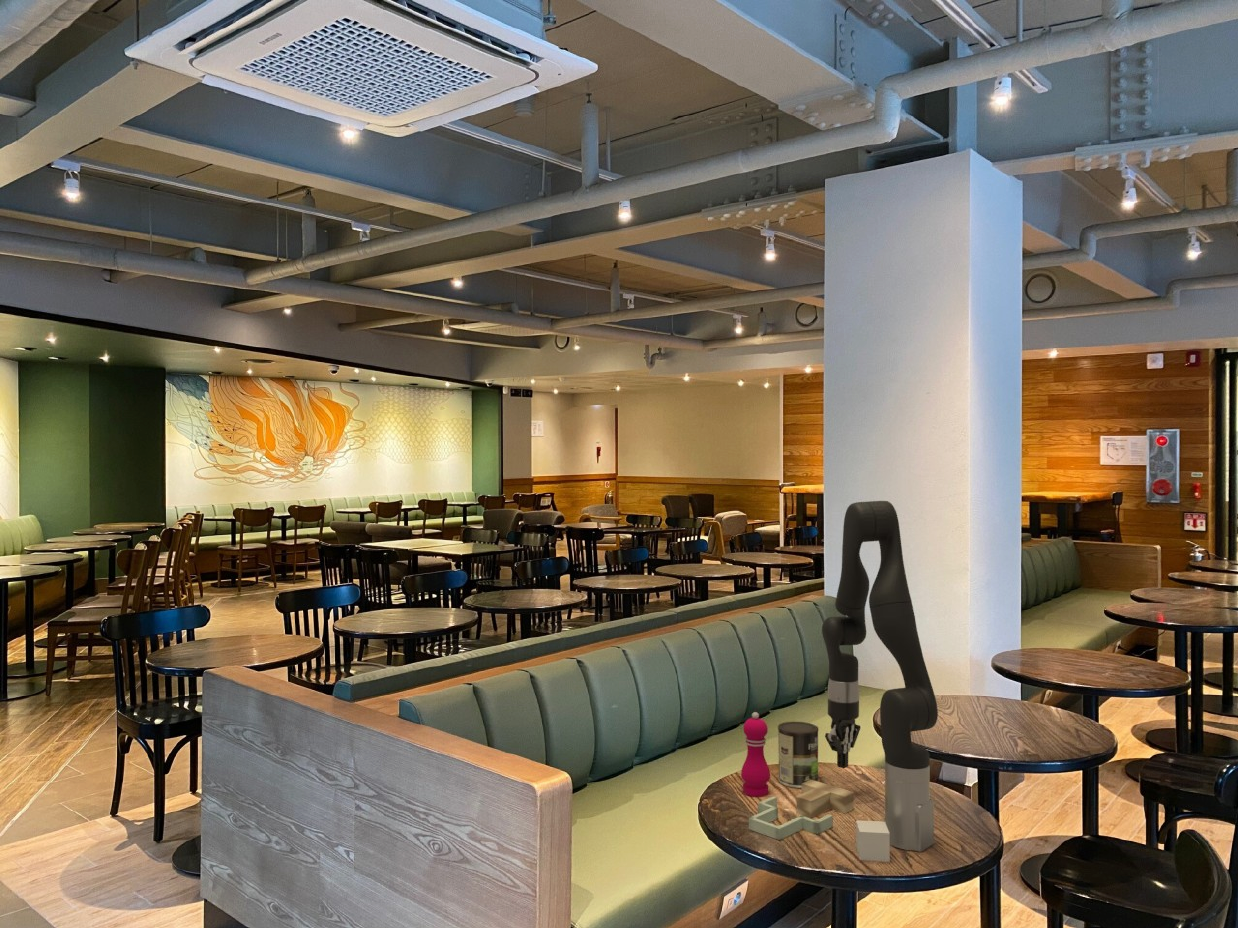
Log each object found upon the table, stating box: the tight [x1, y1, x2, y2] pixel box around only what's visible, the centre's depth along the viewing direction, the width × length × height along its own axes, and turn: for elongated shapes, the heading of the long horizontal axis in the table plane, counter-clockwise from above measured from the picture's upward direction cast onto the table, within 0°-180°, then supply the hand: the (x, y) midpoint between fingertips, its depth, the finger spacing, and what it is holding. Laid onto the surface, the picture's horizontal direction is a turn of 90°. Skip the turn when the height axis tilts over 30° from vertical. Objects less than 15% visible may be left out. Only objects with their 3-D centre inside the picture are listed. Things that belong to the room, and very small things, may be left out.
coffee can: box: [777, 721, 819, 789], centre depth 229 cm, size 10×10×14 cm
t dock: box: [748, 795, 834, 841], centre depth 201 cm, size 16×15×2 cm
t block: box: [795, 780, 855, 819], centre depth 211 cm, size 12×12×4 cm
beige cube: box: [855, 819, 891, 863], centre depth 186 cm, size 6×6×6 cm
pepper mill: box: [740, 711, 771, 797], centre depth 222 cm, size 7×7×20 cm
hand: (842, 766), depth 219 cm, fingers closed
